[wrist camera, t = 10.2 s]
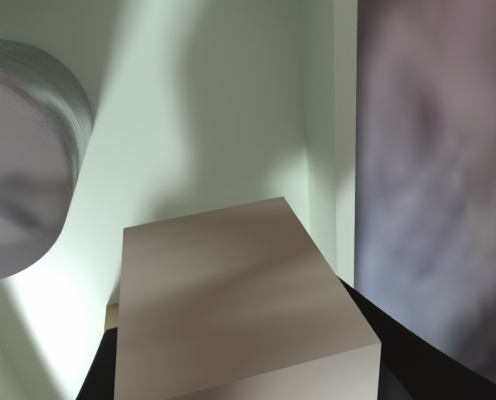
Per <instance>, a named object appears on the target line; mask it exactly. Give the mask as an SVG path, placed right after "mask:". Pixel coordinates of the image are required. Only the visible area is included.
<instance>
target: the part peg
mask: <svg viewBox="0 0 496 400" xmlns="http://www.w3.org/2000/svg"><path fill="white" fill-rule="evenodd" d="M91 132H92V111H91V107H90V103H89V100H88V97H87V95H86V93H85V91H84V89H83V87H82V85H81V84H80V82H79V81H78V79H77V78H76V77H75V75H74V74H73V73H72V72H71V71H70V70H69V69H68V68H67V67H66V66H65V65H64V64H63V63H62V62H60V61H59V60H58V59H56V58H55V57H53V56H52V55H50V54H49V53H47V52H45V51H43V50H41V49H39V48H37V47H34V46H32V45H29V44H25V43H22V42H17V41H12V40H0V279H4V278H7V277H9V276H12V275H14V274H17V273H19V272H21V271H23V270H25V269H27V268H28V267H30V266H31V265H33V264H34V263H36V262H37V261H38V260H40V259H41V258H42V257H43V256H44V255H45V254H46V253H47V252H48V251H49V250H50V249H51V248H52V246H53V245H54V244H55V242H56V241H57V239H58V237H59V236H60V234H61V232H62V229H63V227H64V224H65V221H66V218H67V215H68V211H69V208H70V205H71V201H72V198H73V194H74V191H75V188H76V184H77V181H78V178H79V174H80V171H81V167H82V164H83V161H84V157H85V154H86V151H87V147H88V144H89V140H90V137H91Z"/></svg>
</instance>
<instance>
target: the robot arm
mask: <svg viewBox="0 0 496 400" xmlns="http://www.w3.org/2000/svg"><path fill="white" fill-rule="evenodd" d="M337 277H338V276H337ZM338 278H339V280H340V281H341V283H342V284H343V286H344V287H345V289H346V290H347V292H348V293H349V295H350V296H351V298H352V299H353V301H354V302H355V304H356V305H357V307H358V308H359V310H360V311H361V313H362V314H363V316H364V317H365V319H366V320H367V322H368V323H369V325H370V326H371V328H372V329H373V331H374V332H375V334H376V335H377V337H378V338H379V340H380V341H381V354H380V367H379V380H378V393H377V400H496V384H495V383H493V382H491V381H489V380H487V379H486V378H484V377H482V376H480V375H478V374H477V373H475V372H473V371H472V370H470V369H468V368H466V367H465V366H463V365H462V364H460V363H458V362H457V361H455V360H453V359H452V358H450V357H449V356H447V355H446V354H444V353H443V352H441V351H439V350H438V349H436V348H435V347H433V346H432V345H430V344H429V343H427V342H426V341H424V340H423V339H421V338H420V337H418V336H417V335H415V334H414V333H413V332H411V331H410V330H408V329H407V328H406V327H404V326H403V325H401V324H400V323H399V322H397V321H396V320H394V319H393V318H392V317H390V316H389V315H387V314H386V313H385V312H383V311H382V310H381V309H379V308H378V307H377V306H376V305H374V304H373V303H372V302H370V301H369V300H368V299H366V298H365V297H364V296H363V295H361V294H360V293H359V292H357V291H356V290H355V289H354V288H352V287H351V286H350V285H349V284H347V283H346V282H345V281H343V280H342V279H341V278H340V277H338ZM117 335H118V327H115V328H111V329H107V330H106V332H105V333H104V334H103V337H102V339H101V342H100V344H99V347H98V349H97V352H96V354H95V357H94V359H93V362H92V364H91V366H90V369H89V371H88V373H87V375H86V378H85V380H84V382H83V384H82V387H81V389H80V391H79V393H78V395H77V397H76V399H75V400H114V390H115V371H116V353H117Z"/></svg>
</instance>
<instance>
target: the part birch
mask: <svg viewBox="0 0 496 400" xmlns="http://www.w3.org/2000/svg"><path fill="white" fill-rule="evenodd" d="M380 354H381V341H380V340H379V338H378V337H377V335H376V334H375V332H374V331H373V329H372V328H371V326H370V325H369V323H368V322H367V320H366V319H365V317H364V316H363V314H362V313H361V311H360V310H359V308H358V307H357V305H356V304H355V302H354V301H353V299H352V298H351V296H350V295H349V293H348V292H347V290H346V289H345V287H344V286H343V284H342V283H341V281H340V280H339V278H338V277H337V275H336V274H335V272H334V271H333V270H332V268H331V267H330V265H329V264H328V262H327V261H326V259H325V258H324V256H323V255H322V253H321V252H320V250H319V249H318V247H317V246H316V244H315V243H314V241H313V240H312V238H311V237H310V235H309V234H308V232H307V231H306V229H305V228H304V226H303V225H302V223H301V222H300V220H299V219H298V217H297V216H296V214H295V213H294V211H293V210H292V208H291V207H290V205H289V204H288V202H287V201H286V199H285V198H284V196H282V197H277V198H272V199H267V200H262V201H257V202H252V203H247V204H242V205H237V206H232V207H227V208H222V209H217V210H212V211H207V212H202V213H197V214H192V215H187V216H182V217H177V218H172V219H166V220H161V221H156V222H151V223H146V224H141V225H136V226H131V227H126V228H123V245H122V263H121V281H120V299H119V317H118V335H117V353H116V371H115V390H114V400H377V393H378V380H379V367H380Z"/></svg>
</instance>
